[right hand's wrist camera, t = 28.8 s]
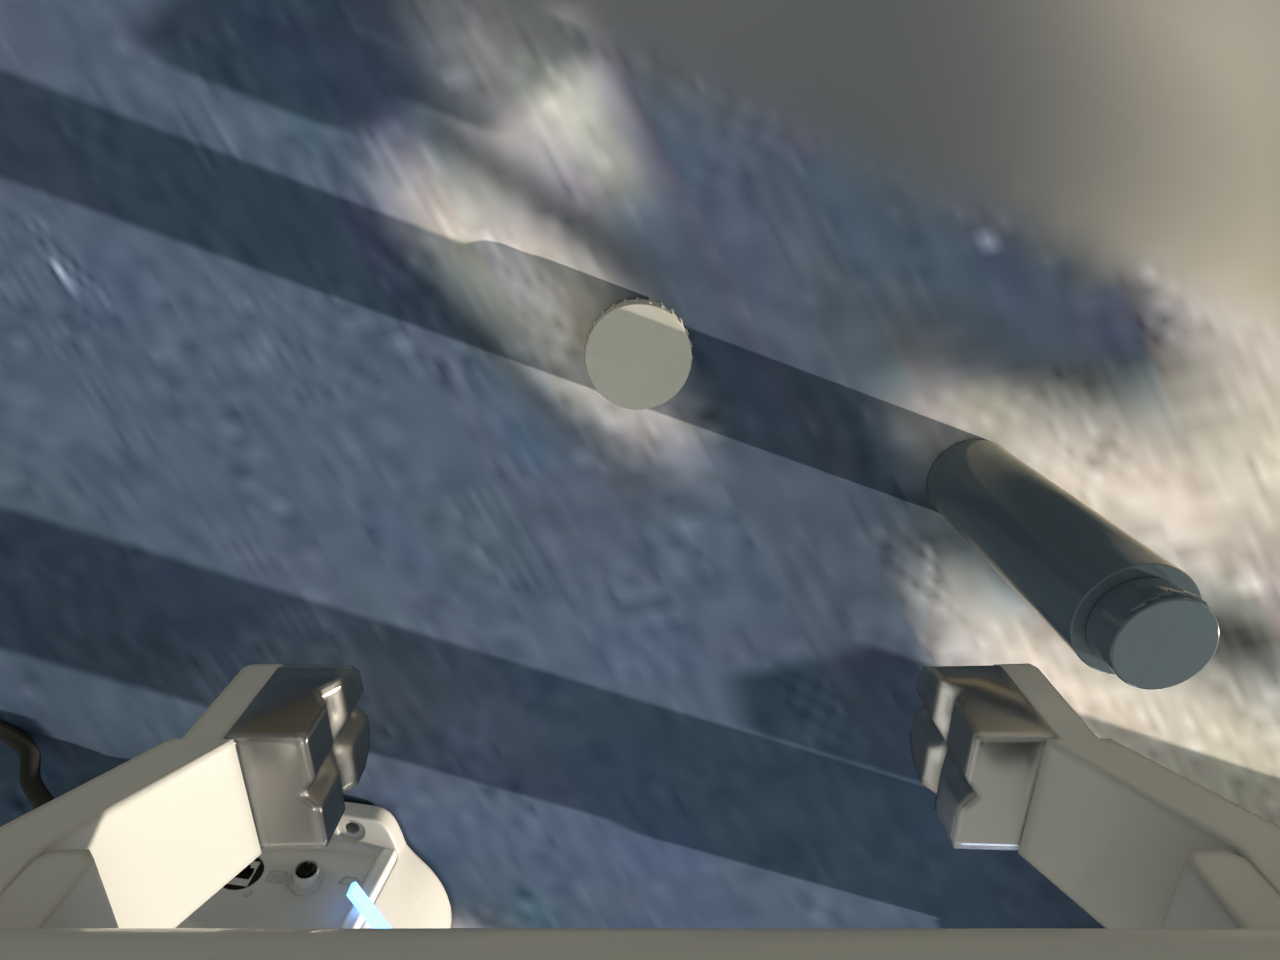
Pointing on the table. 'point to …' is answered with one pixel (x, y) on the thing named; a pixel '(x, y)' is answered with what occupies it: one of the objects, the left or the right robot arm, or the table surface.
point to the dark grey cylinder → (1076, 568)
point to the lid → (638, 354)
